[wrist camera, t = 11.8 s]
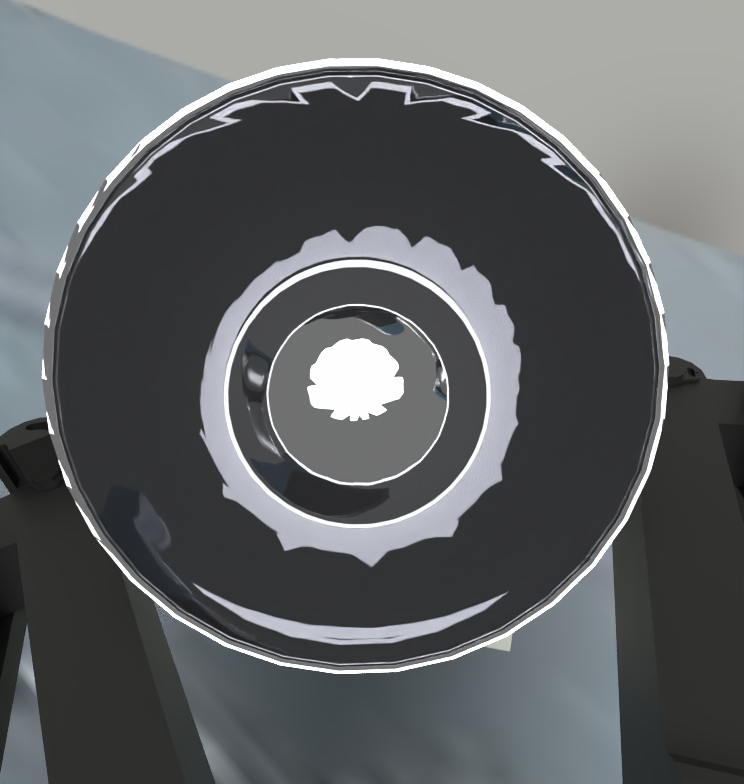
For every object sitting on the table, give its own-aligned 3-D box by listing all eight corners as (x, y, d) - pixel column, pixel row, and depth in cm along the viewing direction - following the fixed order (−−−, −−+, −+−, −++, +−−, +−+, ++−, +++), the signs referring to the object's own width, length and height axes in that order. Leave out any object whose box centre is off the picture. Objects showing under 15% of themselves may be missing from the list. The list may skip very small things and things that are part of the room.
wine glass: (467, 332, 23) (670, 78, 8) (458, 545, 22) (673, 695, 7) (259, 318, 23) (81, 34, 8) (240, 532, 22) (-5, 657, 7)
